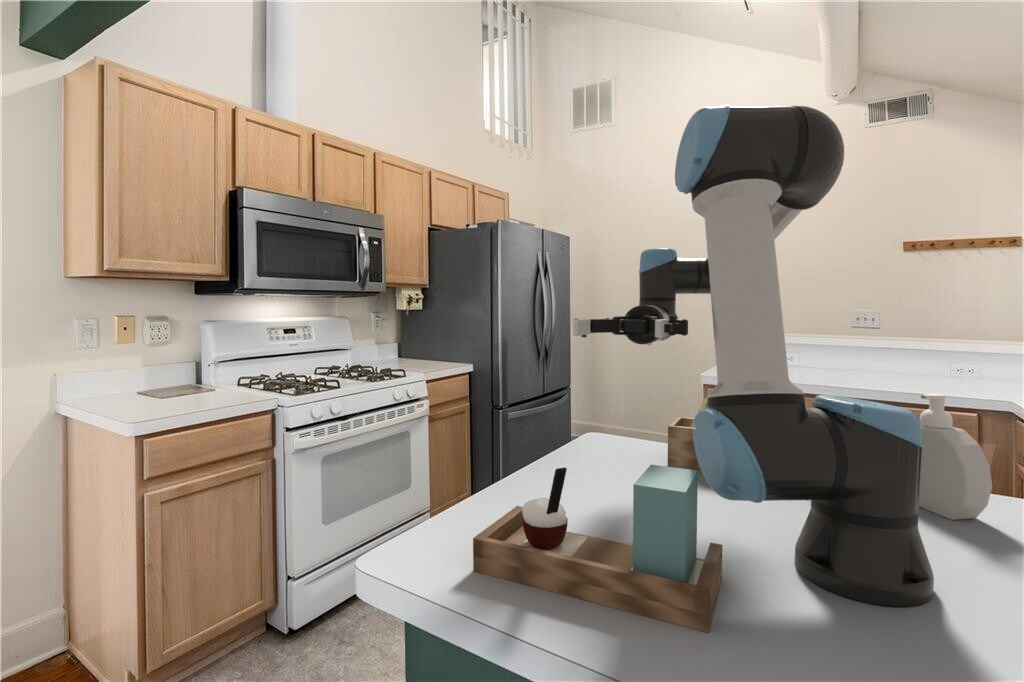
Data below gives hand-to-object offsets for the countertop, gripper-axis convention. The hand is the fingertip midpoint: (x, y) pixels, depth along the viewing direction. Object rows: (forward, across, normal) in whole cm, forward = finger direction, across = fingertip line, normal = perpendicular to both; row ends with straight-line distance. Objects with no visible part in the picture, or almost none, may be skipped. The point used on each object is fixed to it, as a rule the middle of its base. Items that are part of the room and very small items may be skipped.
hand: (614, 328), depth 85 cm
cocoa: (+18, +4, -30) cm, 35 cm away
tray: (+18, -3, -32) cm, 37 cm away
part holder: (-41, -15, -32) cm, 54 cm away
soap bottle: (-31, -48, -32) cm, 66 cm away
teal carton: (+18, -12, -30) cm, 37 cm away
